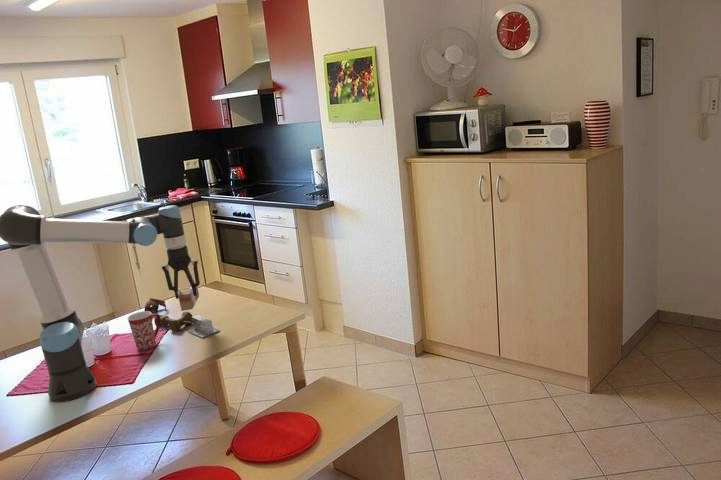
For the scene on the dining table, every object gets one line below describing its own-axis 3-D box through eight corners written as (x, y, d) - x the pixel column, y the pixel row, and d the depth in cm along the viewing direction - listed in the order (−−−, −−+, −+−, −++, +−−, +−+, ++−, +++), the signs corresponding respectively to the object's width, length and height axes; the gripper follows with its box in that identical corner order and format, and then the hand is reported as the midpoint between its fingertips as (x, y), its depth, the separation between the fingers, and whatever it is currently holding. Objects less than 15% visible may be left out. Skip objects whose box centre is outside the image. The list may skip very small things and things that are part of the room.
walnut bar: (192, 309, 223) (189, 293, 222) (181, 311, 223) (178, 295, 222) (199, 296, 247) (196, 282, 246) (189, 297, 246) (186, 283, 245)
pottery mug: (142, 314, 276) (146, 297, 278) (162, 318, 280) (167, 301, 281) (143, 315, 265) (148, 297, 267) (165, 319, 269) (169, 301, 270)
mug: (141, 353, 230) (133, 321, 226) (130, 348, 236) (123, 317, 233) (170, 341, 238) (163, 310, 235) (159, 336, 245) (152, 306, 241)
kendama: (167, 322, 262) (201, 324, 253) (151, 331, 254) (185, 334, 245) (164, 309, 261) (198, 311, 251) (147, 318, 253) (182, 321, 243)
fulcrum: (202, 338, 237) (199, 324, 236) (188, 332, 246) (185, 318, 244) (219, 331, 242) (217, 317, 241) (205, 325, 251) (202, 312, 249)
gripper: (151, 252, 218) (164, 312, 223) (198, 245, 220) (210, 304, 226) (154, 247, 225) (167, 305, 231) (200, 240, 227) (211, 298, 233)
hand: (188, 304), depth 228 cm, fingers closed on walnut bar, 4 cm apart
